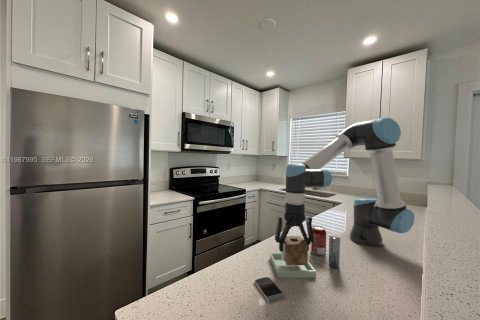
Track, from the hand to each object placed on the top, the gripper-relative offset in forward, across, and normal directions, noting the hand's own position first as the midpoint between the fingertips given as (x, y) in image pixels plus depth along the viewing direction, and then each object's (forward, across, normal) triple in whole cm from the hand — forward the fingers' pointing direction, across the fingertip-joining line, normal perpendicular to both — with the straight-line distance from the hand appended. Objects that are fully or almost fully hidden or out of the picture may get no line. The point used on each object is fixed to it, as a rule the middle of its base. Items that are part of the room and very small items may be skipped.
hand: (293, 258), depth 78 cm
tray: (+4, +1, -1) cm, 4 cm away
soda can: (+4, -16, -13) cm, 21 cm away
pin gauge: (+4, -17, -1) cm, 18 cm away
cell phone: (+5, +13, +12) cm, 18 cm away
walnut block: (0, 0, 0) cm, 0 cm away
